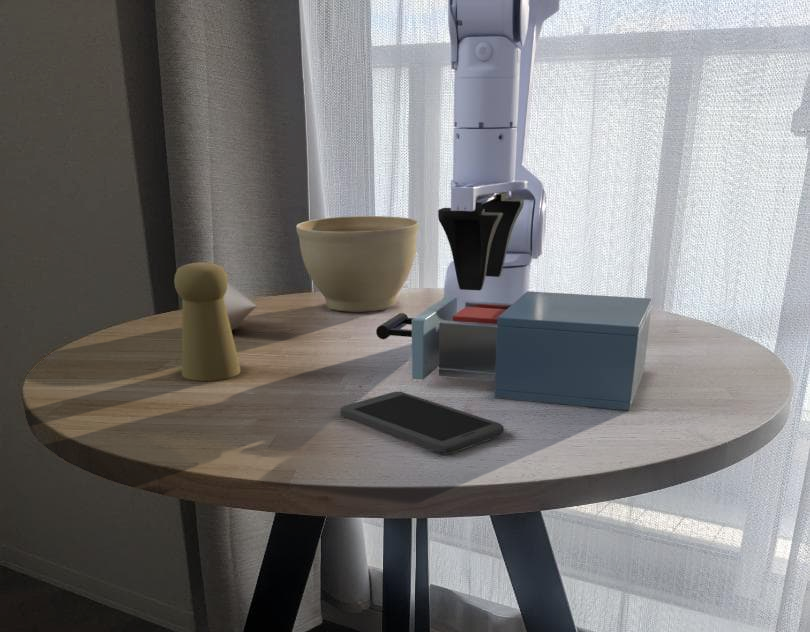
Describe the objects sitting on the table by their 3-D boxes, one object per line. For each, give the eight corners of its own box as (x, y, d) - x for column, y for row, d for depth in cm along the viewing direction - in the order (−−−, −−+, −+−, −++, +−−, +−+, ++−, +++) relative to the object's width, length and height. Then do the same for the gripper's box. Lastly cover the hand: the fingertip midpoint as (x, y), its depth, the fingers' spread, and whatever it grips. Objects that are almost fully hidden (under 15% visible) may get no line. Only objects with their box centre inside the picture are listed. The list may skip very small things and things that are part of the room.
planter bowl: (363, 289, 130) (361, 212, 125) (443, 305, 119) (443, 221, 114) (277, 306, 119) (271, 223, 115) (356, 325, 109) (353, 234, 104)
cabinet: (494, 397, 82) (497, 317, 79) (522, 363, 93) (526, 291, 90) (629, 411, 79) (639, 326, 75) (643, 373, 89) (652, 298, 86)
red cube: (451, 361, 87) (452, 315, 84) (464, 350, 90) (465, 306, 88) (495, 365, 85) (497, 319, 83) (506, 353, 89) (508, 309, 87)
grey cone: (259, 344, 100) (201, 341, 112) (289, 304, 102) (228, 305, 113) (222, 307, 97) (165, 308, 108) (253, 266, 98) (194, 271, 109)
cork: (250, 367, 92) (241, 260, 88) (222, 383, 87) (210, 270, 82) (201, 362, 94) (188, 257, 89) (170, 378, 89) (155, 267, 84)
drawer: (367, 374, 86) (365, 316, 84) (404, 347, 96) (404, 293, 93) (527, 389, 82) (530, 328, 79) (550, 358, 91) (554, 302, 89)
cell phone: (397, 397, 82) (397, 389, 82) (508, 434, 73) (508, 425, 73) (336, 415, 78) (336, 406, 78) (446, 456, 69) (446, 447, 68)
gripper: (510, 130, 71) (503, 299, 77) (545, 125, 83) (536, 271, 89) (428, 130, 73) (427, 294, 79) (473, 125, 85) (470, 268, 91)
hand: (480, 282), depth 84 cm, fingers open, 7 cm apart
